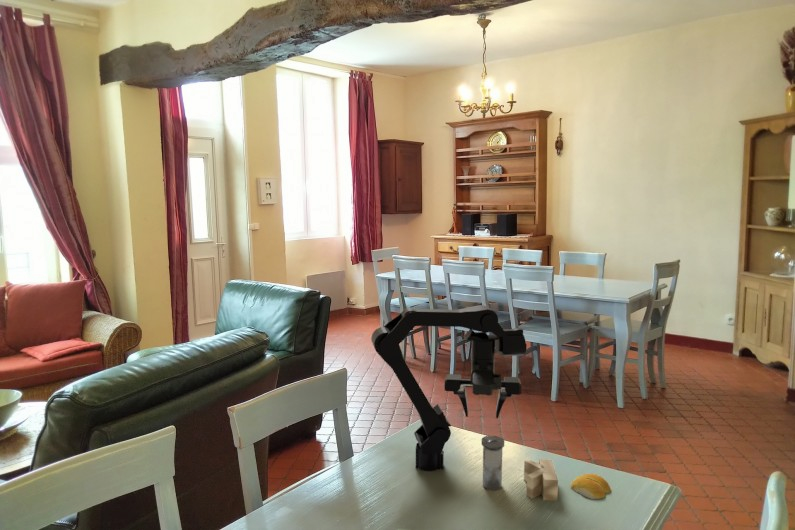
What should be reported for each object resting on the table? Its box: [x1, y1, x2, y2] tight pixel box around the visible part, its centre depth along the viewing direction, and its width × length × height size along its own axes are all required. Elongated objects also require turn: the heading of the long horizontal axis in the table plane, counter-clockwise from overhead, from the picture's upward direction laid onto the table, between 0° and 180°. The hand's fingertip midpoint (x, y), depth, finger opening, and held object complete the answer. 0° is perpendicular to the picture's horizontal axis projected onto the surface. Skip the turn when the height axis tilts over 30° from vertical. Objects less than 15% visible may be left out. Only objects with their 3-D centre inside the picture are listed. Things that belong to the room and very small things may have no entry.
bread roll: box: [569, 473, 611, 500], centre depth 132 cm, size 8×9×4 cm
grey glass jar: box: [481, 435, 505, 491], centre depth 132 cm, size 5×5×11 cm
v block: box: [523, 458, 559, 502], centre depth 131 cm, size 6×10×5 cm, turn 172°
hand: (481, 417), depth 143 cm, fingers open, 7 cm apart
